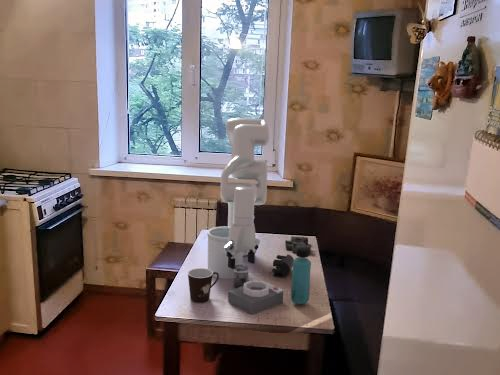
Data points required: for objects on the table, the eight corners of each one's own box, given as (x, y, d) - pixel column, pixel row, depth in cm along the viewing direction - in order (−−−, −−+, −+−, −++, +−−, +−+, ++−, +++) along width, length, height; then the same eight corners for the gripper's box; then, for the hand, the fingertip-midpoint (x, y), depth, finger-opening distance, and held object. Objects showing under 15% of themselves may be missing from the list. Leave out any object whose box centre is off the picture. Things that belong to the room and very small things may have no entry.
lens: (230, 286, 169) (231, 266, 168) (241, 283, 173) (241, 263, 171) (239, 291, 165) (240, 270, 164) (250, 287, 169) (251, 267, 167)
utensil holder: (243, 281, 175) (245, 237, 172) (205, 280, 174) (206, 236, 171) (242, 266, 189) (244, 226, 186) (207, 266, 189) (208, 225, 185)
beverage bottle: (312, 304, 158) (316, 249, 154) (301, 310, 153) (305, 254, 149) (297, 298, 162) (300, 245, 158) (286, 303, 157) (289, 249, 153)
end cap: (289, 279, 179) (290, 263, 177) (272, 276, 181) (272, 260, 179) (293, 270, 188) (294, 254, 187) (277, 268, 190) (278, 252, 189)
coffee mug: (189, 306, 152) (189, 278, 150) (185, 295, 160) (186, 269, 158) (223, 303, 155) (223, 276, 153) (217, 293, 163) (218, 266, 161)
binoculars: (286, 254, 208) (287, 241, 207) (284, 243, 223) (285, 231, 222) (310, 255, 208) (311, 242, 206) (307, 244, 223) (307, 232, 222)
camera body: (228, 301, 157) (228, 285, 156) (259, 290, 167) (259, 275, 166) (251, 314, 148) (252, 297, 147) (282, 302, 158) (283, 286, 157)
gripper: (253, 215, 172) (251, 258, 175) (218, 221, 161) (216, 267, 163) (267, 219, 167) (265, 263, 170) (231, 226, 155) (230, 273, 158)
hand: (241, 265), depth 167 cm, fingers open, 9 cm apart
